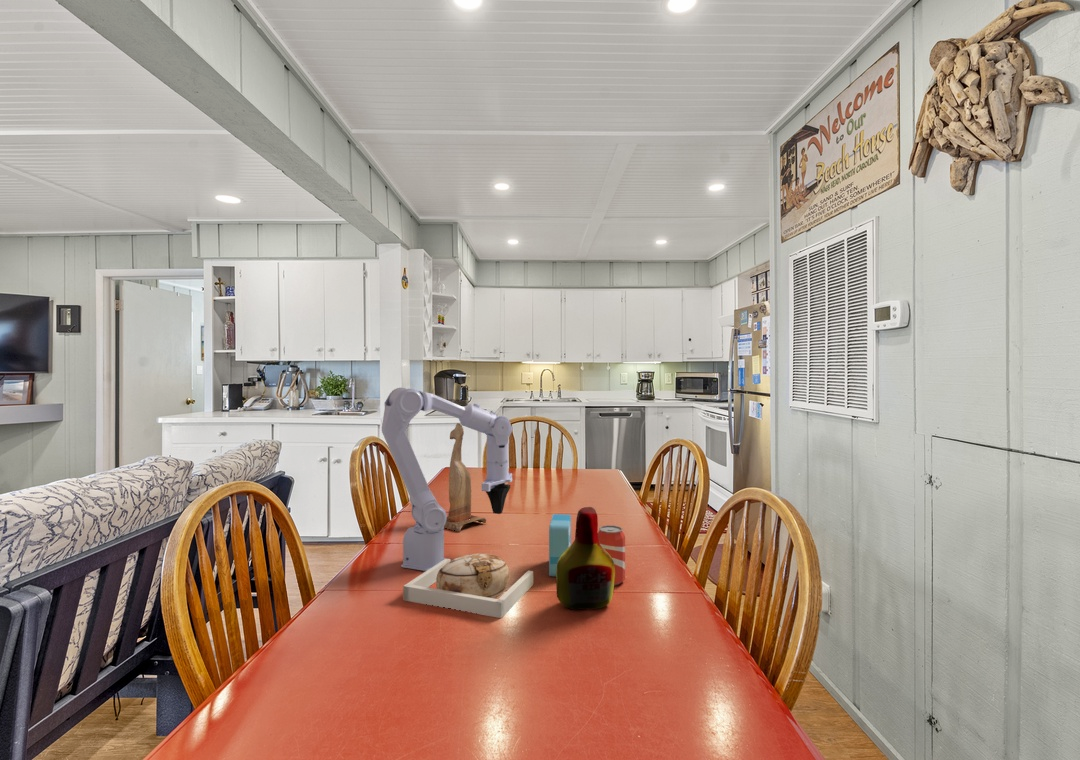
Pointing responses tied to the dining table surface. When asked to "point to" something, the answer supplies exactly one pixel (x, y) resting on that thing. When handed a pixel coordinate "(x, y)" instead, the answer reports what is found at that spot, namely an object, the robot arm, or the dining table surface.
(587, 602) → the bottle
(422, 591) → the display bay
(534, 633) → the dining table surface
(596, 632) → the dining table surface
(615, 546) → the beverage can
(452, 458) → the bird sculpture
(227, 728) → the dining table surface
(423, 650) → the dining table surface
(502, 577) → the trinket box
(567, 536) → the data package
